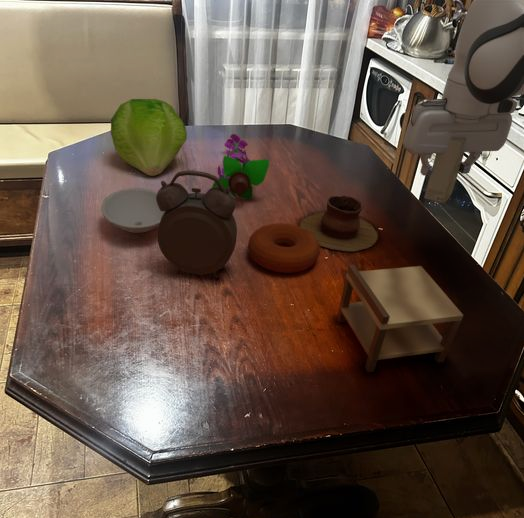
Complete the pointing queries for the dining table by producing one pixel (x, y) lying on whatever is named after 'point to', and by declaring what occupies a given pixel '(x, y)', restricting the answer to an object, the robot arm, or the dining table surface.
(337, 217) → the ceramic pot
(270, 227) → the donut
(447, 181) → the cosmetic box
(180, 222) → the alarm clock
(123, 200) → the dish
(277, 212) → the dining table surface
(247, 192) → the potted plant
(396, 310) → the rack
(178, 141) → the lettuce
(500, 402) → the dining table surface
